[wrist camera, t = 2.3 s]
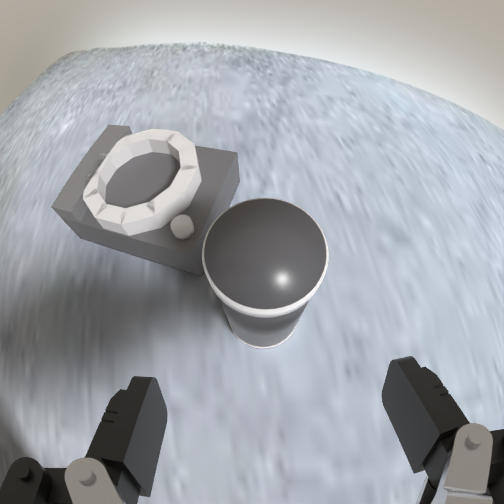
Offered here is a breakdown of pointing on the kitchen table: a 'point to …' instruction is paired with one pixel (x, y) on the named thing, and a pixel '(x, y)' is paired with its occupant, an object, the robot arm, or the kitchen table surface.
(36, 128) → the kitchen table surface
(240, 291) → the lens
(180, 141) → the camera body
